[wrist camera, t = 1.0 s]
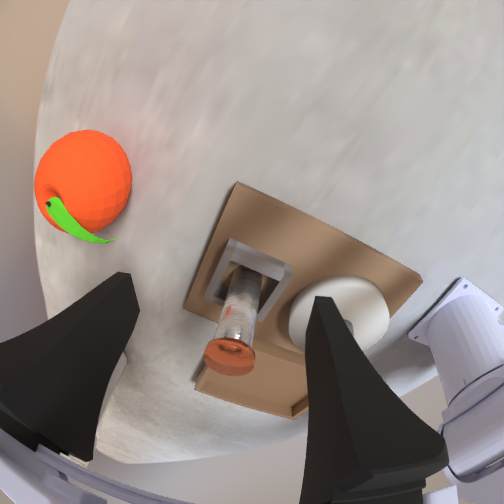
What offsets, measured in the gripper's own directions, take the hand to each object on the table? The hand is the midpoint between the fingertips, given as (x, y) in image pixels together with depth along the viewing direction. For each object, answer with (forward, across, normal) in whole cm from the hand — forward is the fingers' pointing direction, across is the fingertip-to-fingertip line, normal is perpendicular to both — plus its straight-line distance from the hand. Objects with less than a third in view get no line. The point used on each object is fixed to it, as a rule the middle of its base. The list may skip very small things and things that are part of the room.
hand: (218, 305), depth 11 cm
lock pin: (+9, 0, +6) cm, 11 cm away
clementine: (+10, +10, -2) cm, 15 cm away
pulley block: (+10, -5, +7) cm, 13 cm away
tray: (+10, -3, +19) cm, 22 cm away
